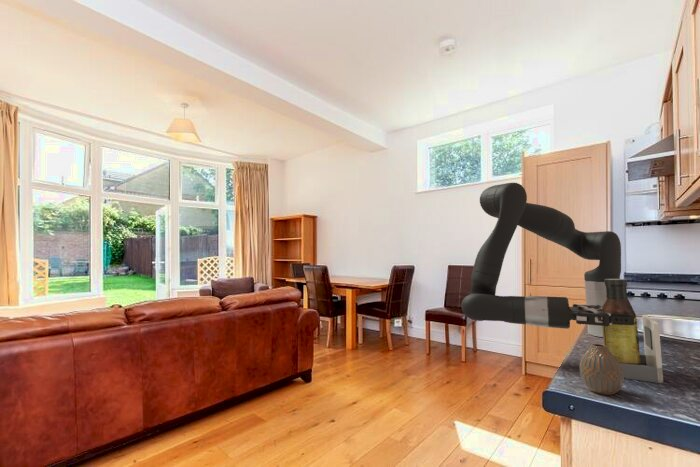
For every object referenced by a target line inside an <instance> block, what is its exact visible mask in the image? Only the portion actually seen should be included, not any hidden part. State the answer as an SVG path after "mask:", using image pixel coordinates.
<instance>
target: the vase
mask: <svg viewBox="0 0 700 467" xmlns="http://www.w3.org/2000/svg"><path fill="white" fill-rule="evenodd" d="M578 367H579V374H580V377H581V380H582V382H583V384H584V385H585V386H586V387H587V388H588V389H589V390H590V391H592V392H593V393H597V394H600V395H607V396H608V395H609V396H611V395H613V396H614V395H615V394H616V393H618V392H619V391H621V390H622V387H623V384H624V379H625V378H624V375H623V370H622V367H621V365H620V363H619V361H618V360H617V359H616V358H615V357H614V356H613V354H612V353H611V352H610V351H609V349H608V348H607V346H606V345H604V343H603V344H602V343H591V345H590V347H589V349H588V350H587V351H586V352H585V353H584V354H583V355H582V356H581V358H580V361H579V366H578Z"/></svg>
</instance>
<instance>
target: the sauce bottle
mask: <svg viewBox="0 0 700 467" xmlns="http://www.w3.org/2000/svg"><path fill="white" fill-rule="evenodd" d="M604 282H605V286H606V293H607V295H606V297H607V300H606V302H605V303H604V305H603V306H602V312H609V313H614V314H631V315H633V316H634V325H619V324H612V325H610V326H608V327H606V326H603V337H602V338H603V345H606V346H607V348H608V349H609V351H610V352H611V353H612V354H613V356H614V357H615V358H616V359H617V360H618V361H619V363H626V364H635V365H640V362H641V361H640V354H641V353H640V352H641V351H640V340H639V331H638V330H639V329H638V321H637V320H638V319H637V314H636V312H635V311H634V308H633V306H632V304H631V302H630V300H629V296H628V293H627V286H628V280H627V279H626V278H620V279H605V280H604ZM611 315H612V314H611Z"/></svg>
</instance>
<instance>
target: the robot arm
mask: <svg viewBox="0 0 700 467" xmlns="http://www.w3.org/2000/svg"><path fill="white" fill-rule="evenodd" d="M527 199H528V195H527V191H526V189H525V188H524V186H523V184H522V185H521V184H520V183H518V182H508V183H500V184H496V185H491V186H489V187H487V188H485V189H483V190H482V192H481V194H480V196H479V205H480V207H481V209H482V210H483V211H484V213H486V214H487V215H488V216H491V217H493V218H496V219H497V221H496V224H495V226H494V228H493V230H492V231H491V233H490V234H489V236H488V237H487V239H486V240H485V241H484V243H483V244H482V245H481V247H480V249H479V251H478V252H477V255H476V256H475V257H476V258H475V260H474V264H473V268H472V271H471V275H470V276H471V277H470V278H471V279H470V280H471V288H470V292H469V294H468V295H466V296H465V297H464V298H463V299H462V302H461V311H462V313H463V314H464V315H465V316H466V317H467V318H468V319H470V320H471V321H472V320H473V321H477V322H483V321H488V322H489V321H490V322H504V323H509V324H516V325H527V326H528V325H529V326H534V327H540V328H541V327H542V328H555V329H570V327H571V321H575V323H576V324H577V325H587V334H588V335H590V336H594V337H597V338H598V337H599V338H603V326H606V327H608V326H610V325H612V324H619V325H634V316H633V315H631V314H614V313H609V312H602V306H603V305H604V303H605V302H606V300H607V297H606V295H607V293H606V286H605V282H604V280H605V279H621V273H622V243H621V240H620V237H619V235H618V234H617V233H615V232H614V231H609V230H607V231H593V232H588V231H587V232H585V231H581V230H579V229H576V226H575V223H574V220H573V219H572V218H571V217H570V216H569V215H568V214H566V213H564V212H562V211H560V210H558V209H556V208H554V207H550V206H547V205H542V204H537V203H532V202H527V201H528V200H527ZM518 227H521V228H523V229H525V230H526V231H529V232H531V233H533V234H535V235H537V236H539V237H541V238H543V239H545V240H547V241H550V242H552V243H555V244H557V245H559V246H561V247H564V248H566V249H567V250H569V251H570V252H573V253H574V254H575V255H577V256H578V257H580V258H582V259H583V260H588V261H589V260H590V261H599V262H598V263H599V264H598V266H596V267H595V268H593V269H591V270H587V271H586V272H584V274H583V275H584V276H583V277H584V291H585V303H586V304H579V303H578V304H577V303H574V304H572V306H570V303H569V298H568V297H566V296H549V295H548V296H545V295H544V296H543V295H532V296H531V295H530V296H529V295H527V296H523V295H522V296H521V295H520V296H518V295H506V296H505V295H496V293H497V286H498V283H499V279H500V275H501V271H502V267H503V264H504V259H505V256H506V253H507V251H508V248H509V245H510V243H511V241H512V239H513V236H514V234H515V231H516V229H517V228H518ZM611 314H612V315H611Z"/></svg>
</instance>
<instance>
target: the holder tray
mask: <svg viewBox="0 0 700 467" xmlns="http://www.w3.org/2000/svg"><path fill="white" fill-rule="evenodd" d="M641 316H642V317H641V318H642V331H643V334H642V335H643V346H644V354H643V353H642V354H641V353H640V361H641V362H640V365H635V364H626V363H620V365H621V367H622V370H623V375H624V379H627V380H635V381H641V382H649V383H657V384H664V374H663V362H662V350H661V348H662V347H661V346H662V345H661V337H660V335H661V334H660V324H659V322H657V321H655V320H654V319H653V318H651V317H650V316H648V315H644V314H643V315H641Z"/></svg>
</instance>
